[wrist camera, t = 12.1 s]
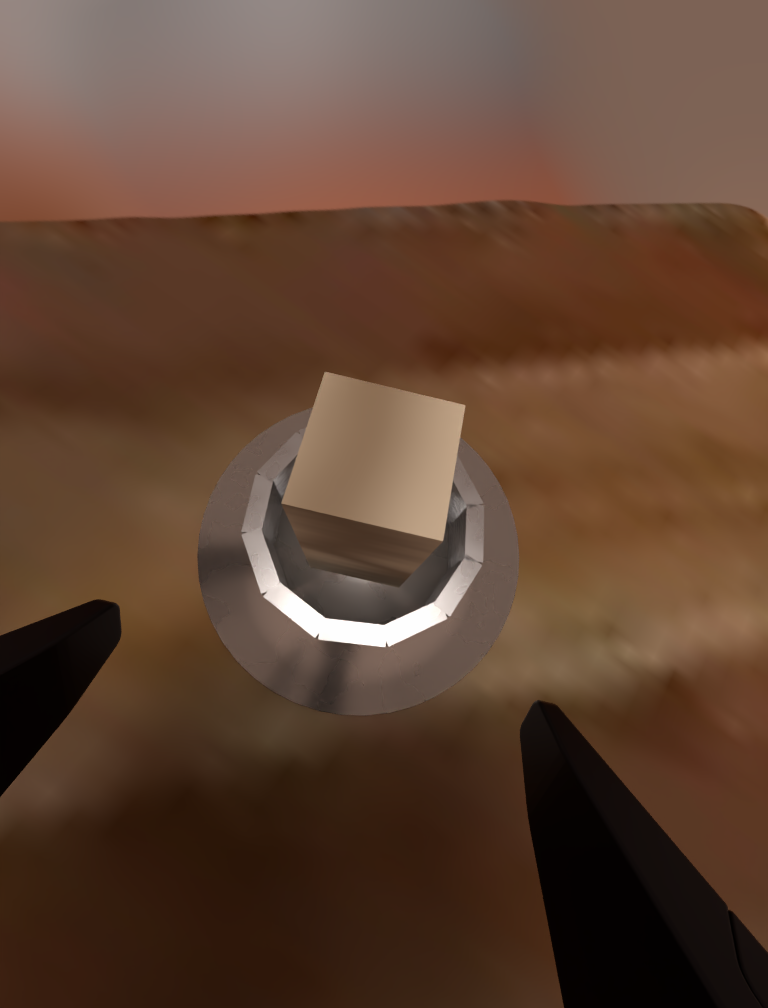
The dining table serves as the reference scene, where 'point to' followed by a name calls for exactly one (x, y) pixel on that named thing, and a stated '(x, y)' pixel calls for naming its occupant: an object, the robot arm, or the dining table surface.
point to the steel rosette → (352, 590)
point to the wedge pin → (373, 479)
